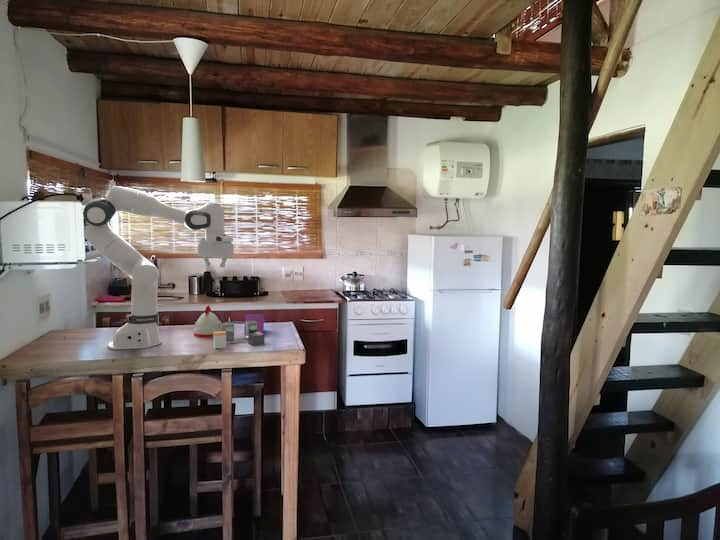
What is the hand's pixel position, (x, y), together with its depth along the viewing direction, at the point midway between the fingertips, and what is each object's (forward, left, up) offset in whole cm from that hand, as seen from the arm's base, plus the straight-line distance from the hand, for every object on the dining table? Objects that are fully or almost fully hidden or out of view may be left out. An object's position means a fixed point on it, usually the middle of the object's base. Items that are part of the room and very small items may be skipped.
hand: (215, 266), depth 228 cm
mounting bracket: (+21, +11, -37) cm, 44 cm away
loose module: (0, -11, -37) cm, 38 cm away
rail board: (+11, -2, -37) cm, 38 cm away
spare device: (+17, -11, -37) cm, 42 cm away
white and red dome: (-1, +18, -37) cm, 41 cm away
